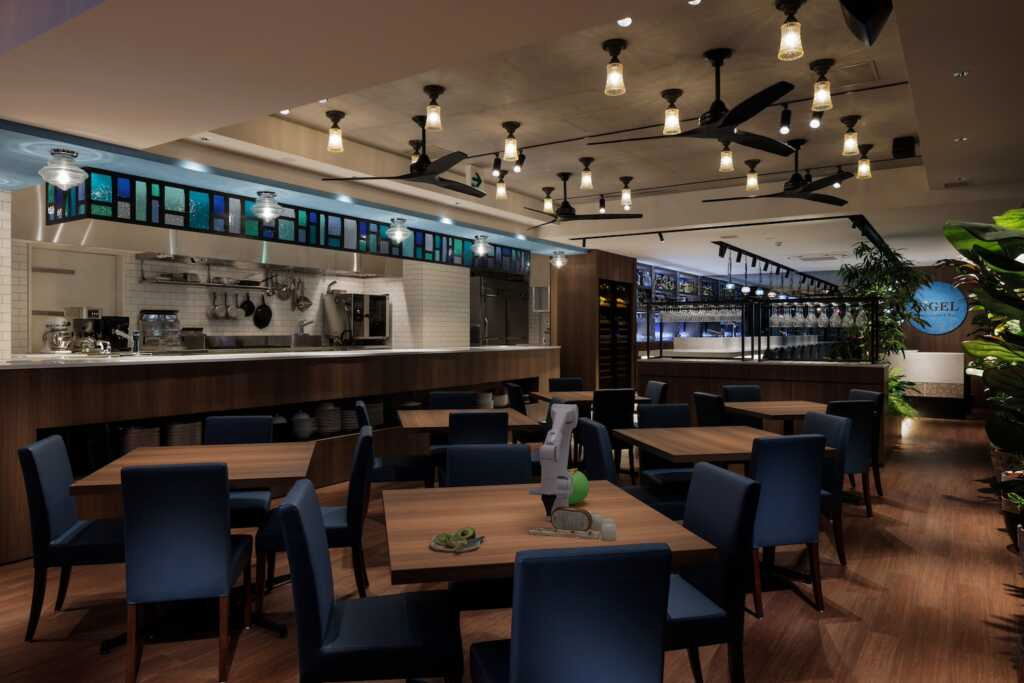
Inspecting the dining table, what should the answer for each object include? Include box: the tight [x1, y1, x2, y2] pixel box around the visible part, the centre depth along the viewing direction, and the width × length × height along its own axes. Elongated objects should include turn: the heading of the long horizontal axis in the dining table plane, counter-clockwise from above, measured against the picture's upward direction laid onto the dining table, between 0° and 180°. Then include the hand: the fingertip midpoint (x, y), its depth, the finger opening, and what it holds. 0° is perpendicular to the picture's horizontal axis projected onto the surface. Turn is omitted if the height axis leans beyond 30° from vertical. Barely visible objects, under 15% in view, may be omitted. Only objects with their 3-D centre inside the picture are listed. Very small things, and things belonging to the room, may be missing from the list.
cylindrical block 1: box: [589, 512, 604, 531], centre depth 250 cm, size 5×5×5 cm
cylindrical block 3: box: [600, 522, 617, 542], centre depth 237 cm, size 5×5×5 cm
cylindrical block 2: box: [599, 516, 616, 535], centre depth 244 cm, size 5×5×5 cm
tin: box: [550, 506, 593, 532], centre depth 245 cm, size 15×3×8 cm, turn 70°
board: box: [528, 527, 600, 540], centre depth 241 cm, size 5×24×1 cm, turn 77°
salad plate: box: [429, 526, 486, 553], centre depth 227 cm, size 19×18×5 cm
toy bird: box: [567, 468, 590, 505], centre depth 288 cm, size 18×17×15 cm
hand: (548, 515), depth 248 cm, fingers closed
